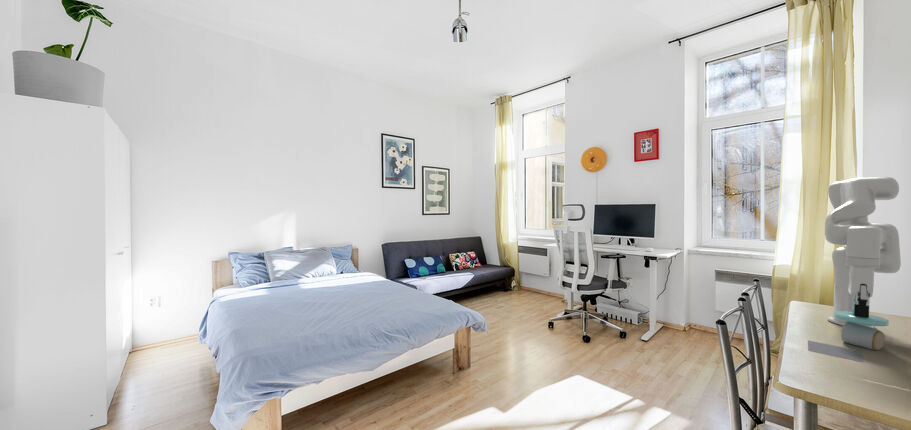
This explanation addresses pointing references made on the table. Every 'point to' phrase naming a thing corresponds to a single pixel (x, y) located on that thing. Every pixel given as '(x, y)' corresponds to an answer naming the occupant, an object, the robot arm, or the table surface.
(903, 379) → the table surface
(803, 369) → the table surface
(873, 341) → the ceramic mug
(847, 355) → the mat
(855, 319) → the lid
